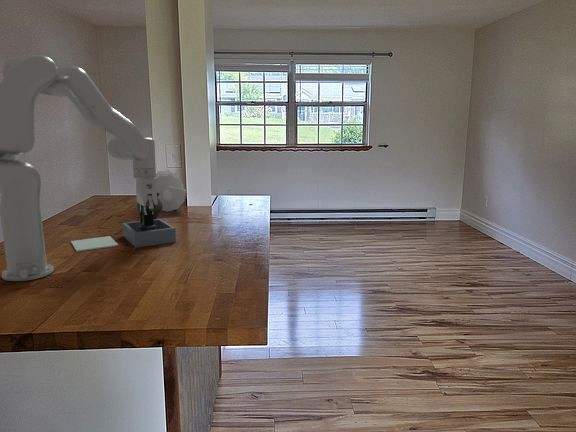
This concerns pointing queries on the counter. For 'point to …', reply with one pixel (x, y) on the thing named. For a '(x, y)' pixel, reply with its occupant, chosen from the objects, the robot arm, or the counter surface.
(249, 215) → the counter surface
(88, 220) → the counter surface
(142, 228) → the stone chess piece
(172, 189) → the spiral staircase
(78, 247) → the mat
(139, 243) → the crate
